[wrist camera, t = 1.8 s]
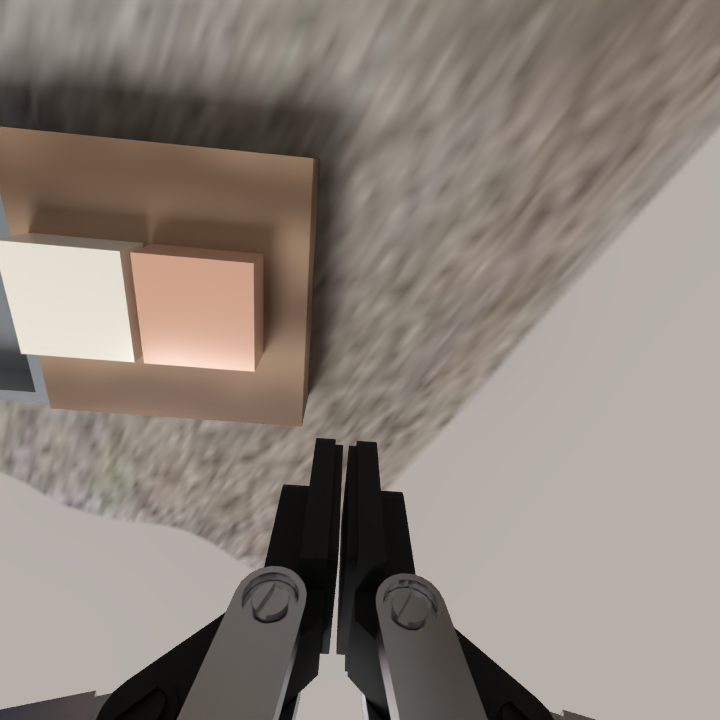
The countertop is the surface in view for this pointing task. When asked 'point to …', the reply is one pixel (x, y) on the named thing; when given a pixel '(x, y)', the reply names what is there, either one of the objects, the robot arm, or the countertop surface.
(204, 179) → the walnut board
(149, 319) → the terracotta tile
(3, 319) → the tray
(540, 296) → the countertop surface
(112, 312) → the cream tile
